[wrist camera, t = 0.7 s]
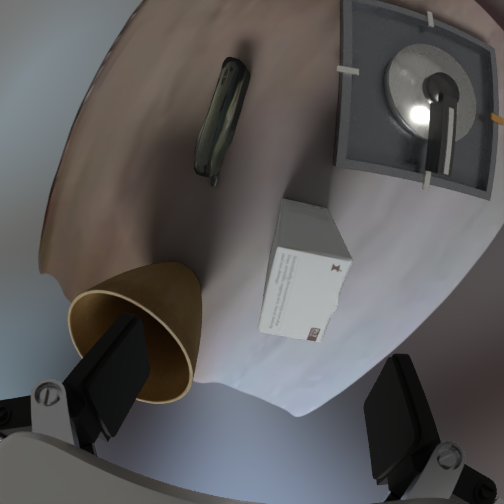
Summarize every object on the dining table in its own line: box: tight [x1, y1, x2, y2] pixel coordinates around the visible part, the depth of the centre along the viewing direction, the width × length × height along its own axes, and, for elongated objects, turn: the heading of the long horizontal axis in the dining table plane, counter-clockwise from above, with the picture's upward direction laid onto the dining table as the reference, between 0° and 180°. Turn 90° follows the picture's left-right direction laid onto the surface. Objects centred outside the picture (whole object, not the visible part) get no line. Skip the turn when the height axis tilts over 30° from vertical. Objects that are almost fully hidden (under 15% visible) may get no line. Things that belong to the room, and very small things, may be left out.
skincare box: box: [258, 199, 353, 342], centre depth 28 cm, size 8×6×15 cm
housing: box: [333, 0, 504, 201], centre depth 24 cm, size 23×23×3 cm
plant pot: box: [68, 262, 202, 404], centre depth 32 cm, size 15×15×16 cm
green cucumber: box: [194, 57, 250, 187], centre depth 29 cm, size 5×3×15 cm
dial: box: [384, 44, 476, 177], centre depth 22 cm, size 16×12×6 cm
